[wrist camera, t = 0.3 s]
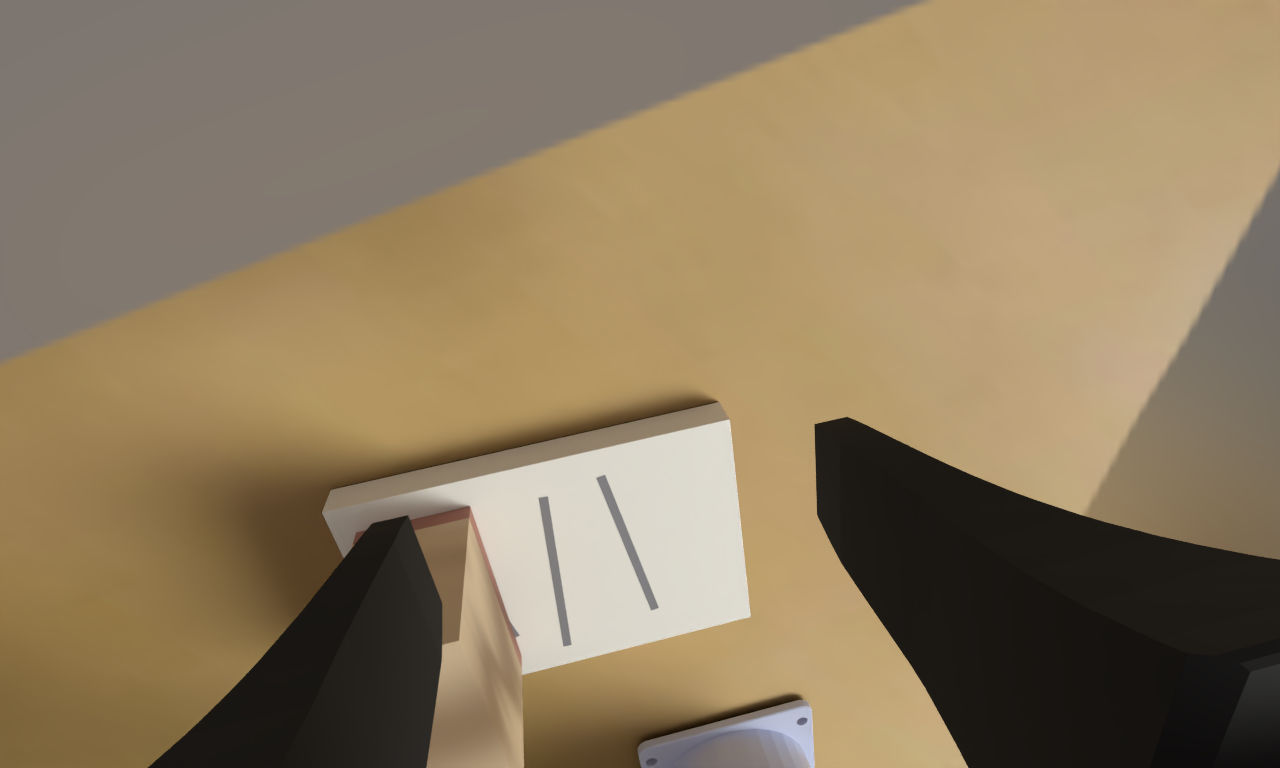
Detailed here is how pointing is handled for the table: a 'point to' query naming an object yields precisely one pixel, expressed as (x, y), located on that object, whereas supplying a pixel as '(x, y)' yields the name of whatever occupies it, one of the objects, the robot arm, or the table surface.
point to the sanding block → (471, 651)
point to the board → (590, 531)
